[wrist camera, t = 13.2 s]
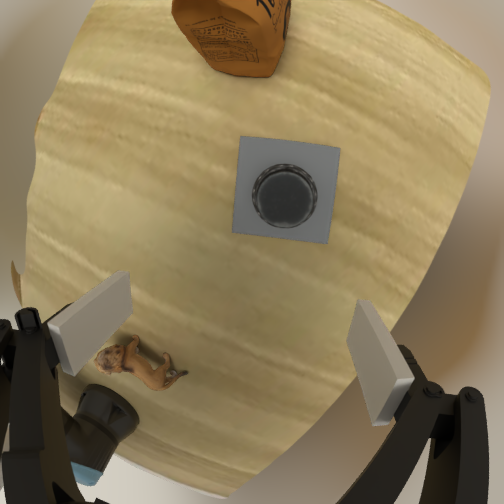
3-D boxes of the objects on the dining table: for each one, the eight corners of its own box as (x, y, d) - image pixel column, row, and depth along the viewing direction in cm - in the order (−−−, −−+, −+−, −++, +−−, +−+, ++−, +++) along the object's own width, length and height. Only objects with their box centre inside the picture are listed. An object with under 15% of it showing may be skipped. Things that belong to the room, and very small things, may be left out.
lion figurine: (114, 344, 45) (90, 373, 36) (117, 323, 43) (90, 352, 35) (186, 379, 45) (170, 415, 36) (193, 361, 43) (176, 397, 35)
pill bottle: (284, 225, 34) (283, 252, 23) (248, 189, 33) (231, 200, 23) (320, 190, 32) (337, 202, 22) (284, 154, 31) (284, 147, 21)
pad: (233, 230, 36) (232, 232, 35) (241, 137, 32) (240, 136, 31) (326, 242, 35) (327, 244, 34) (338, 148, 31) (340, 148, 30)
